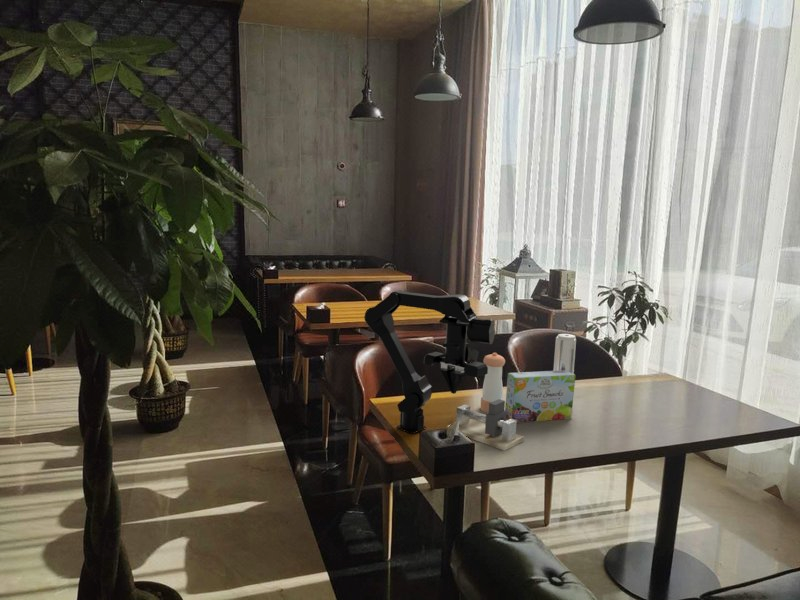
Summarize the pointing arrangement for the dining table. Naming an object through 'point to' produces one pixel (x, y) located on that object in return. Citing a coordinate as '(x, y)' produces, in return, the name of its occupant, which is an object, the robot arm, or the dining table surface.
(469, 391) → the dining table surface
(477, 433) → the board
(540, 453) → the dining table surface
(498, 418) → the grey upright block
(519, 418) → the snack box
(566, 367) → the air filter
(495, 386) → the pepper shaker
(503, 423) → the pipe rig
